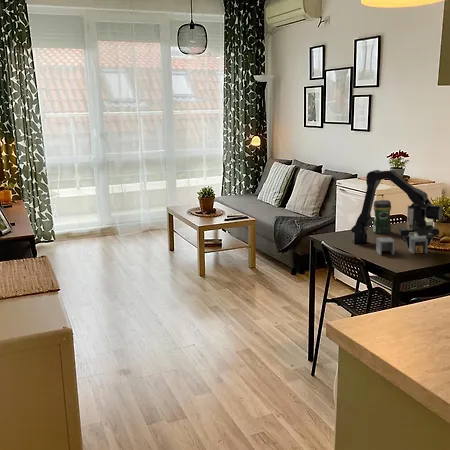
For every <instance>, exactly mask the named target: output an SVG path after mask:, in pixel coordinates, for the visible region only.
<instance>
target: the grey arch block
mask: <svg viewBox="0 0 450 450" xmlns="http://www.w3.org/2000/svg"><path fill="white" fill-rule="evenodd" d="M415 244H421V245H423V253H424V254H428V248H429V246H428V239H426V238H425V237H424V236H410V238H409V249H408V248H407V250H408V251H409V252H410V253H411V254H413V255H414V254H415Z"/></svg>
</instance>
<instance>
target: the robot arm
mask: <svg viewBox="0 0 450 450" xmlns="http://www.w3.org/2000/svg"><path fill="white" fill-rule="evenodd" d="M386 179H388V180H389V181H390V182H392V183H393V184H394V185H396V186H397V188H399V189H400V190H401V191H403V192H404V193H406V196H407V197H408V199H409V200H410V201H411V202H412V203H411V204H410V205H408V206H409V208H413V219H412V221H413V224H412V230H408V229H407V227H400V228H398V229H397V234H398V235H399V236H400V237H402V238H403V240H404V242H405V245H406V247H407V250H408V249H409V238H410V236H408V235H409V234H414V233H417V234H418V236H426V239H428V247H429V246H430V245H431V243H430V241H431V240H432V241H433V238H435V237H437V236H438V235H440V232H441V231H440V229H439V228H437V227H436V226H434V225H433V226H432V225H426V221H425V218H428V219H432V220H434V221H435V220H436V221H441V220H442V217H443V208H442V205H434V204H433V203H432V202H431V201H430V199H429V197H428V194H427V192H425V191H424V190H422V189H420V188H417V187H415V186H413V185H412V184H411V183H409V182H408V181H407V180H406V179H404V178H403V177H402V176H401V175H400V174H398V173H397V172H396V171H395V170H394V169H390V170H383V171H382V170H379V169H374V170H371V171H369V172H368V173H366V180H365V181H366V191H365V196H364V199H363V200H364V201H363V204H362V209H361V212H360V213H359V215H358V217H357V219H356V221H355V224H354V225H353V226H352V227H351V228H350V231H351V233H352V240H351V241H352V243H354V245H362V244H363V245H364V244H368V234H367V231H368V229H369V228H370V227H371V226H372V225H373V221H374V216H372V214H371V213H372V209H373V206H374V201H375V196H376V191H377V188H378V187H379V185H380V184H381V181H382V180H386ZM414 231H415V232H414Z"/></svg>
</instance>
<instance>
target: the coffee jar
mask: <svg viewBox="0 0 450 450" xmlns="http://www.w3.org/2000/svg"><path fill="white" fill-rule="evenodd" d="M372 209H373V211H374V215H373V224H372V225H373V226H372V231H373V233H375V234H390V233H391V231H392V225H391V215H390V214H391V210H392V202H391V201H390V200H388V199H385V200H374V201H373V205H372Z"/></svg>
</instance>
